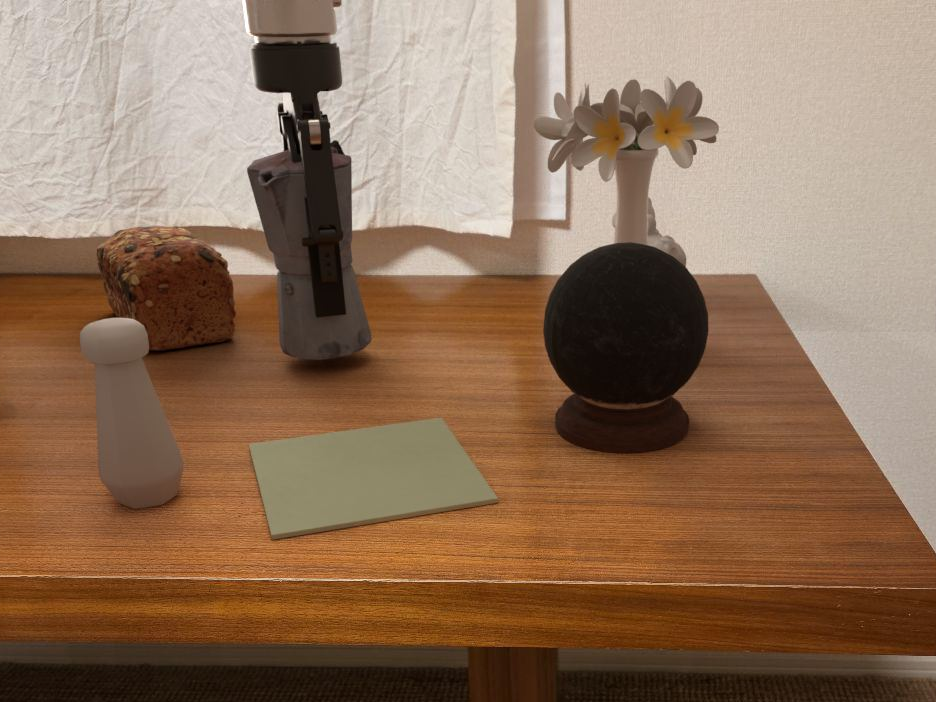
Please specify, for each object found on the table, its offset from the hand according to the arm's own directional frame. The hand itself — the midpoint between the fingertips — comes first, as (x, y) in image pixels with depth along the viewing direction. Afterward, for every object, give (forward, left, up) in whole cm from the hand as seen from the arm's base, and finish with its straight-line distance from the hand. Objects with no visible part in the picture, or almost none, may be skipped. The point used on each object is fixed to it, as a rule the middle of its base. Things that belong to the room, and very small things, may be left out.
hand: (322, 300), depth 97 cm
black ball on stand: (+21, -25, -6) cm, 33 cm away
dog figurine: (+39, +10, -6) cm, 40 cm away
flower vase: (+29, -6, -6) cm, 30 cm away
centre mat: (-1, -27, -6) cm, 28 cm away
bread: (-14, +17, -6) cm, 23 cm away
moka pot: (0, 0, -5) cm, 5 cm away
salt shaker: (-17, -25, -6) cm, 31 cm away
